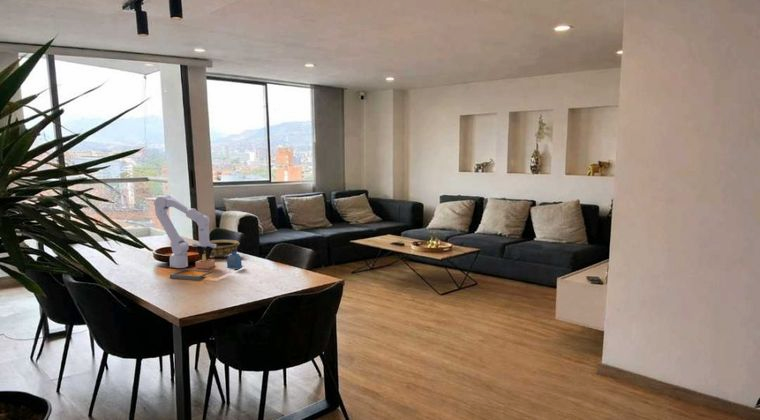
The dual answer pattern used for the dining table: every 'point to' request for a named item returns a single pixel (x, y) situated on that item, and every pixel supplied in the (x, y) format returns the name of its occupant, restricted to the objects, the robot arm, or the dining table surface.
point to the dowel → (204, 258)
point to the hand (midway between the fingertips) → (205, 259)
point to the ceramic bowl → (222, 248)
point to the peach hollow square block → (205, 264)
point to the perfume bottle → (234, 260)
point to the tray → (189, 275)
